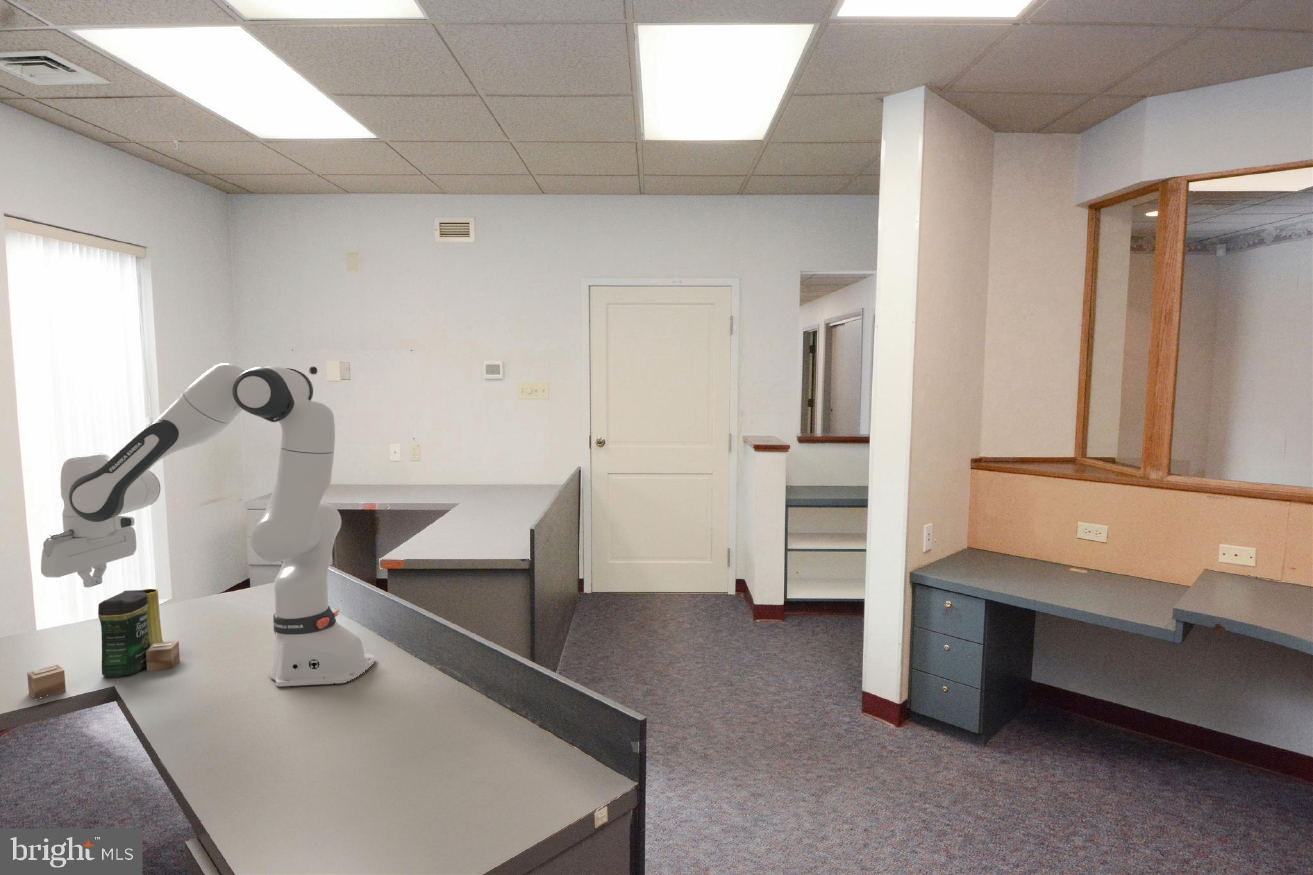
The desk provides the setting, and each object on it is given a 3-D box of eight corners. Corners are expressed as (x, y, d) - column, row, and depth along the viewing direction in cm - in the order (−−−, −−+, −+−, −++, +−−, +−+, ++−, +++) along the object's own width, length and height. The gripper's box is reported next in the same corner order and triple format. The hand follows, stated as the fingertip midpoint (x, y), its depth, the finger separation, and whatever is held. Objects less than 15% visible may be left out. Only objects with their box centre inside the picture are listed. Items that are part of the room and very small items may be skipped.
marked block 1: (65, 691, 144) (64, 669, 144) (35, 700, 140) (33, 677, 140) (59, 685, 147) (57, 663, 147) (28, 694, 143) (27, 671, 143)
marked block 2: (179, 660, 161) (178, 639, 160) (172, 668, 156) (170, 647, 156) (155, 663, 159) (154, 642, 159) (147, 671, 155) (145, 650, 154)
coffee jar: (133, 677, 151) (127, 599, 149) (95, 680, 150) (89, 601, 148) (159, 660, 161) (153, 586, 159) (123, 662, 159) (117, 587, 158)
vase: (169, 641, 173) (165, 588, 171) (148, 650, 166) (145, 595, 165) (147, 640, 173) (144, 587, 172) (127, 649, 167) (123, 594, 166)
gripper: (57, 536, 137) (61, 600, 138) (140, 516, 157) (143, 573, 159) (29, 535, 138) (34, 599, 139) (115, 516, 158) (119, 572, 159)
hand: (93, 585), depth 149 cm, fingers closed
